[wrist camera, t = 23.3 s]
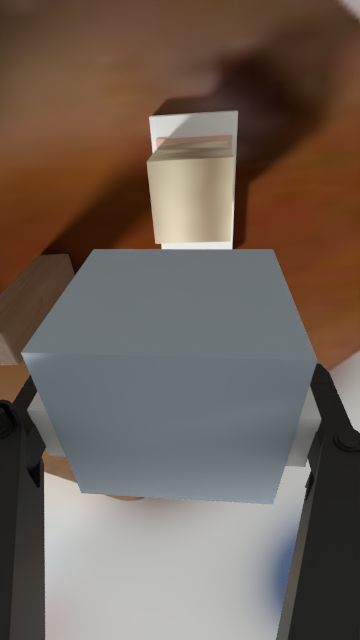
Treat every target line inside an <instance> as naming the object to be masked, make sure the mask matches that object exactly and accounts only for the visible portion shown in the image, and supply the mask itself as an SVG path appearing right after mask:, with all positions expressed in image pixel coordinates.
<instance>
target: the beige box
mask: <svg viewBox="0 0 360 640" xmlns="http://www.w3.org/2000/svg"><path fill="white" fill-rule="evenodd" d="M233 167H234V156H233V154H232V151H231V149H230V146H229V144H228V141H227V140H226V141H209V142H191V143H174V144H161V145H160V146H159V147H158V148H157V150H156V151H155V152H154V153H153V154H152V156H151V157H150V158H149V159H148V161H147V170H148V179H149V188H150V198H151V207H152V216H153V225H154V234H155V243H156V244H161V243H194V242H228V241H231V223H232V195H233Z"/></svg>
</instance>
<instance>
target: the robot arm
mask: <svg viewBox="0 0 360 640" xmlns="http://www.w3.org/2000/svg"><path fill="white" fill-rule="evenodd" d="M45 448H46V449H47V451H48V453H49V455H50V456H65V453H64V451H63V449H62V446H61V444H60V442H59V439H58V437H57V435H56V432H55V430H54V428H53V426H52V423H51V421H50V419H49V416H48V414H47V412H46V409H45V407H44V405H43V402H42V400H41V398H40V396H39V393H38V391H37V389H36V386H35V384H34V382H33V379H32V377H31V375H30V376H29V379H27V381H26V382H25V384H24V387H22V389H21V390H20V392H19V394H18V395H17V397H16V399H15V400H14V402H13V403H11V402H10V401H7V400H0V640H45V565H44V563H45V560H44V559H45V558H44V463H43V459H42V458H41V457H42V454H43V452H44V450H45ZM307 459H308V460H309V464H310V468H311V472H310V475H309V478H308V481H307V483H306V486H305V487H306V488H307V489H306V494H305V499H304V504H303V509H302V514H301V519H300V524H299V529H298V534H297V539H296V544H295V549H294V554H293V558H292V563H291V568H290V573H289V578H288V583H287V589H286V593H285V598H284V603H283V608H282V613H281V618H280V623H279V628H278V633H277V638H276V640H360V433H359V432H358V431H356V430H354V429H353V427H352V425H351V423H350V420H349V418H348V416H347V414H346V411H345V409H344V406H343V404H342V402H341V399H340V397H339V395H338V394H337V390H336V388H335V386H334V383H333V380H332V378H331V376H330V373H329V372H328V371H327V370H326V369H325V368H324V367H323V366H322V365H321V364H316V367H315V370H314V373H313V376H312V380H311V383H310V386H309V389H308V393H307V396H306V399H305V402H304V406H303V409H302V412H301V415H300V419H299V422H298V425H297V428H296V432H295V435H294V438H293V441H292V445H291V448H290V451H289V454H288V458H287V461H286V464H285V466H300V467H301V466H302V467H305V465H306V462H307Z"/></svg>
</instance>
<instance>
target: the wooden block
mask: <svg viewBox="0 0 360 640" xmlns="http://www.w3.org/2000/svg"><path fill="white" fill-rule="evenodd" d="M74 276H75V273H74V270H73V267H72V264H71V261H70V257H69V255H68V254H51V255H39V256H38V257H37V258H36V259H35V260H34V261H33V262H32V263H31V264H30V265H29V266H28V267H27V268H26V269H25V270H24V271H23V272H22V273H21V274H20V275H19V276H18V277H17V278H16V279H15V280H14V281H13V282H12V283H11V284H10V285H9V286H8V287H7V288H6V289H5V290H4V291H3V292H2V293H1V294H0V365H18V364H20V363H21V362H22V361H23V356H22V354H21V352H22V350H23V349H24V347H25V346H26V345H27V343H28V342H29V340H30V339H31V338H32V336H33V335H34V333H35V332H36V330H37V329H38V328H39V326H40V325H41V323H42V322H43V320H44V319H45V318H46V316H47V315H48V313H49V312H50V311H51V309H52V308H53V306H54V305H55V303H56V302H57V301H58V299H59V298H60V296H61V295H62V293H63V292H64V291H65V289H66V288H67V286H68V285H69V284H70V282H71V281H72V279H73V278H74Z"/></svg>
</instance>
